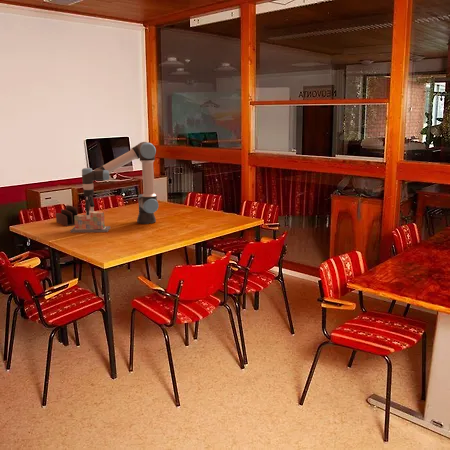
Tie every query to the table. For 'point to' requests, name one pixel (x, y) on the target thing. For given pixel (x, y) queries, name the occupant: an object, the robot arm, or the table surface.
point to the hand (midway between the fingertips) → (90, 217)
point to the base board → (90, 229)
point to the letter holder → (67, 216)
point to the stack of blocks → (90, 220)
